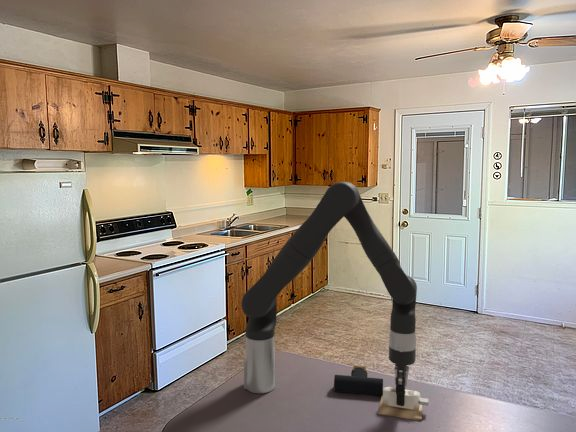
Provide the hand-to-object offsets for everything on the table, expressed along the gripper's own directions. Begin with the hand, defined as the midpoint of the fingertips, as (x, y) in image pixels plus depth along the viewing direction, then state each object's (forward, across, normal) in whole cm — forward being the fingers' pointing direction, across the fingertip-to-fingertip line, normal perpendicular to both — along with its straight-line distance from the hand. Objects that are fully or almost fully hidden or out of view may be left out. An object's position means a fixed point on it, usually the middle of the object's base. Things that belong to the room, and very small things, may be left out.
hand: (400, 401), depth 131 cm
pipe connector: (+3, -10, -14) cm, 17 cm away
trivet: (+2, 0, 0) cm, 2 cm away
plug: (+1, 0, +1) cm, 2 cm away
